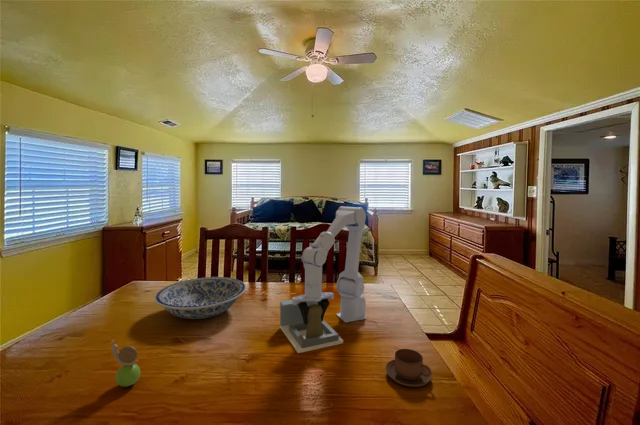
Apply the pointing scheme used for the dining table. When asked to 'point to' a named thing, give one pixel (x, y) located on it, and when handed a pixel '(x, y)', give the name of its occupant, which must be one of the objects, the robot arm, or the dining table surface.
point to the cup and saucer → (408, 368)
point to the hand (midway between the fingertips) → (312, 322)
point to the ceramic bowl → (200, 296)
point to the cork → (314, 321)
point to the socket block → (304, 329)
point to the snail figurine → (126, 365)
